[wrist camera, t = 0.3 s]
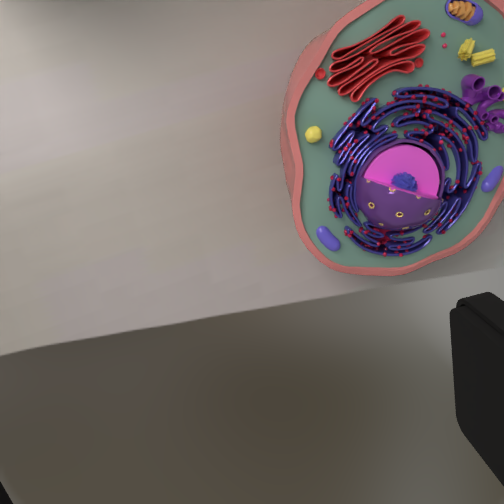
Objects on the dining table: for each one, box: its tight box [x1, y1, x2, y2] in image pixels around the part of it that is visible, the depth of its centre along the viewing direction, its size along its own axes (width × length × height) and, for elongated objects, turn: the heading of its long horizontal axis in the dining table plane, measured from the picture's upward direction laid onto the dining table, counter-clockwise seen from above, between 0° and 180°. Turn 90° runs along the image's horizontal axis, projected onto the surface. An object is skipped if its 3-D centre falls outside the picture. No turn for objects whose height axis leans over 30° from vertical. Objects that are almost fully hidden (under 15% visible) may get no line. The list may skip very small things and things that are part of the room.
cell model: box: [280, 0, 504, 276], centre depth 33 cm, size 17×20×11 cm
